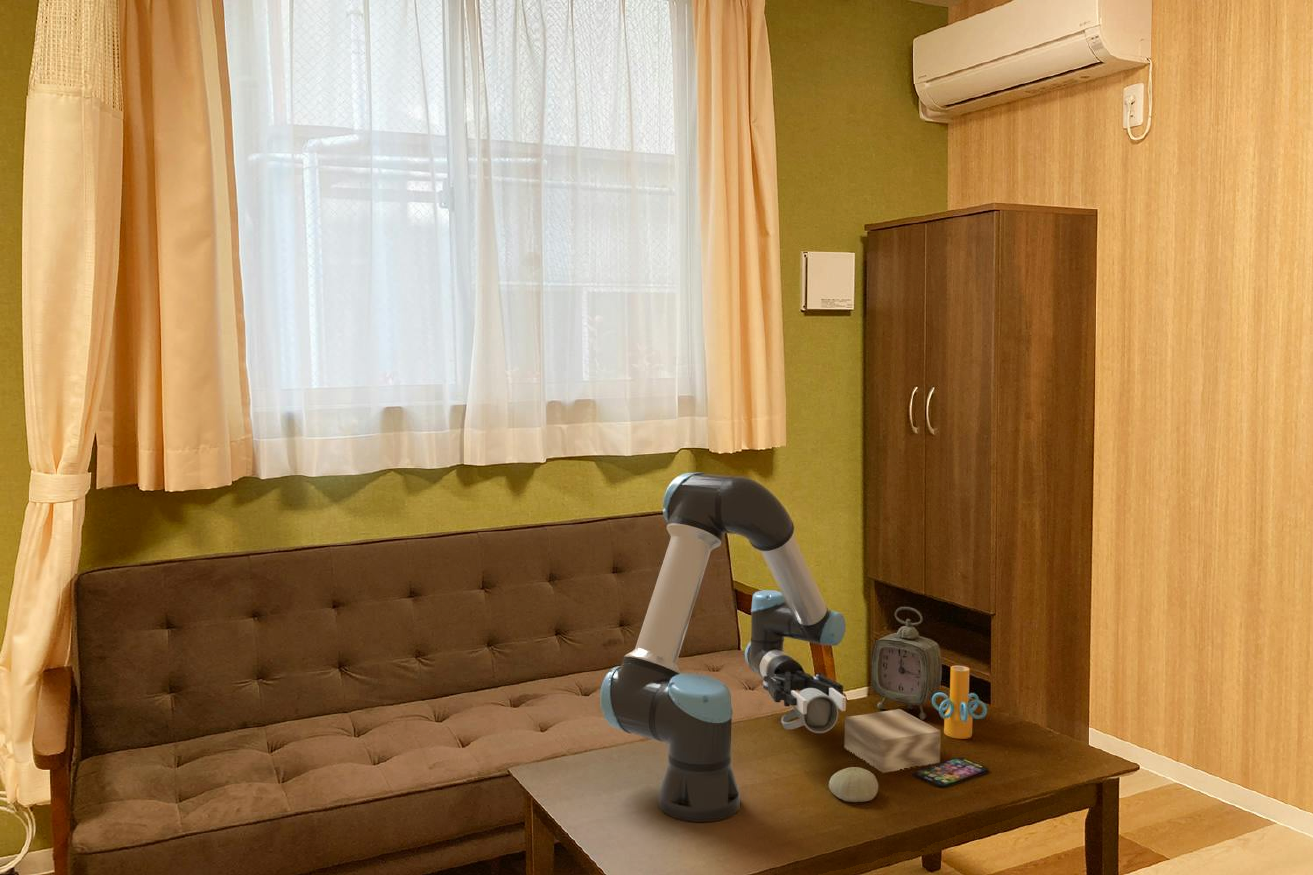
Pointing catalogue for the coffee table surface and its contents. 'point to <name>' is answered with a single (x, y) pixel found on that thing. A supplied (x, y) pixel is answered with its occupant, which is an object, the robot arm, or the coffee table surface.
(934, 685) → the tabletop clock
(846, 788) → the sea urchin shell
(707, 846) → the coffee table surface
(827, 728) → the ceramic mug
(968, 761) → the smartphone
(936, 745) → the birch block
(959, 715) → the ring toss post
